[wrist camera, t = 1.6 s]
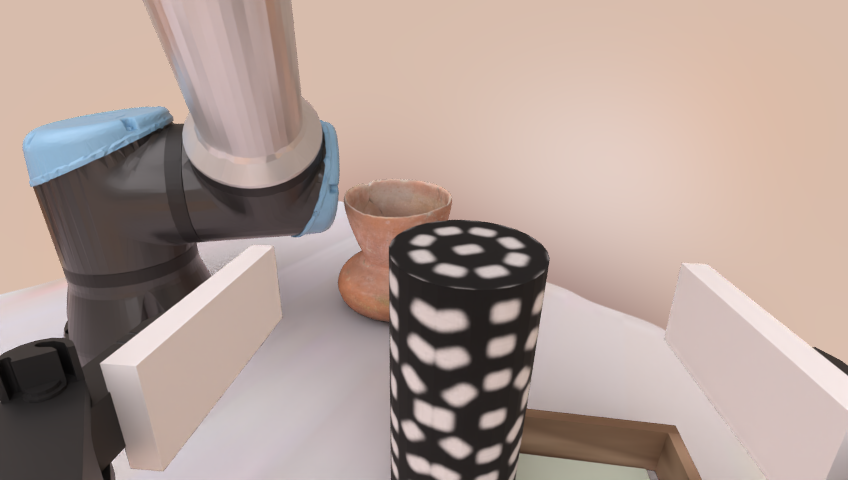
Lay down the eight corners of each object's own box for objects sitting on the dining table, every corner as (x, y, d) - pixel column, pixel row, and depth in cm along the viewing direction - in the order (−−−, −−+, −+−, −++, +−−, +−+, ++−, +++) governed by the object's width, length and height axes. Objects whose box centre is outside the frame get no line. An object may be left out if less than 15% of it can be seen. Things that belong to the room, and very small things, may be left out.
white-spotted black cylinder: (475, 442, 36) (497, 213, 28) (533, 539, 29) (585, 273, 21) (377, 473, 34) (370, 229, 25) (414, 589, 27) (422, 303, 18)
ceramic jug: (310, 296, 56) (300, 189, 50) (394, 259, 66) (394, 166, 60) (410, 365, 45) (412, 240, 39) (493, 309, 55) (506, 201, 49)
